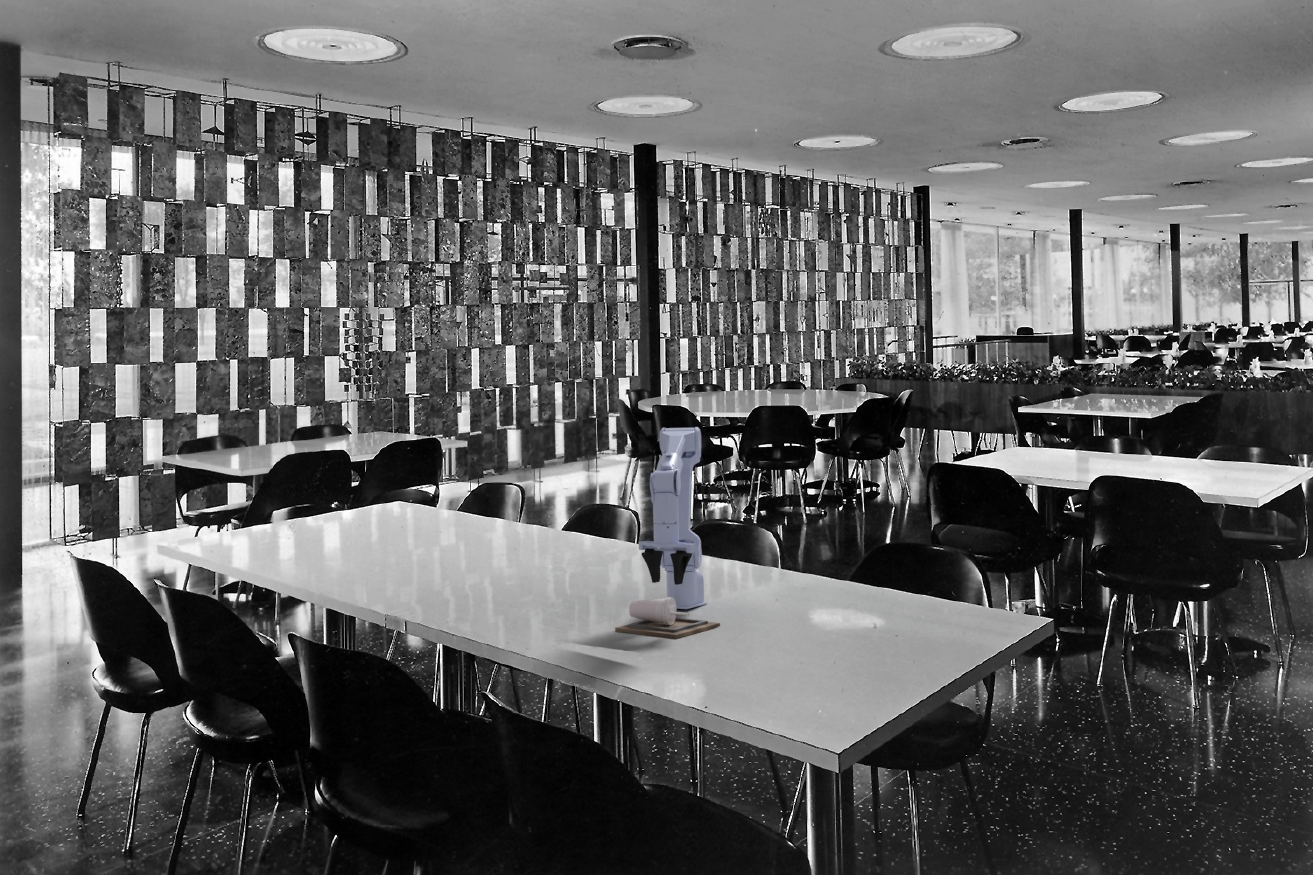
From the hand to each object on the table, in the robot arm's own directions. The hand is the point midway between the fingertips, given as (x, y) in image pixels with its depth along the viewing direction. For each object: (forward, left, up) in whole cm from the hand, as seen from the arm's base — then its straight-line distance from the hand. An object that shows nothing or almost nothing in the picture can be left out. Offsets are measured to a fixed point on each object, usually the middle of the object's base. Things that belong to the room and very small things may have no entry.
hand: (667, 583), depth 238 cm
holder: (0, 0, -10) cm, 10 cm away
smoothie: (+2, -9, -6) cm, 11 cm away
